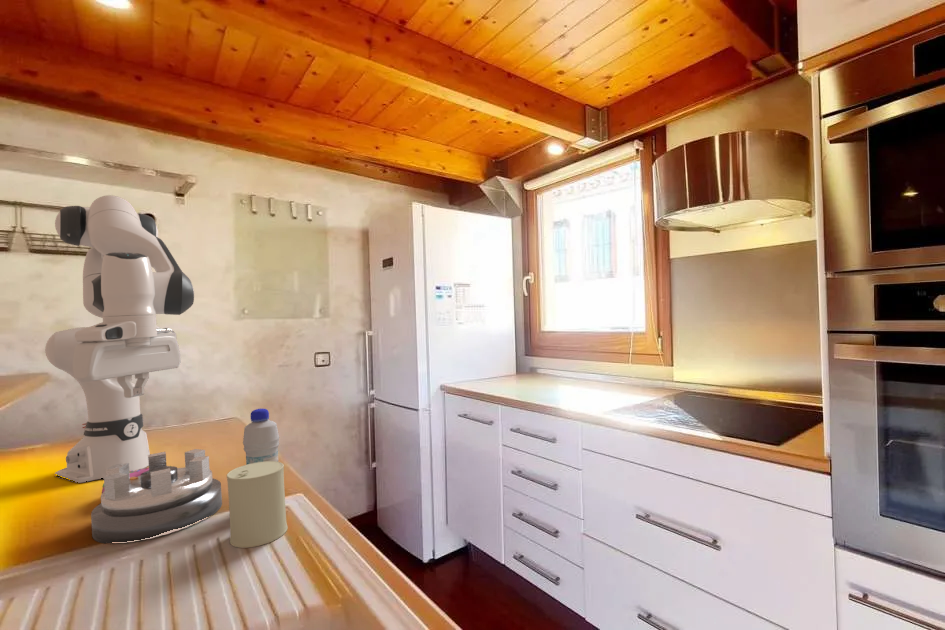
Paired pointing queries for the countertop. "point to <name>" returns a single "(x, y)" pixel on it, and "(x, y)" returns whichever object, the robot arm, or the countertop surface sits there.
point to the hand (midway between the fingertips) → (134, 396)
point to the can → (256, 504)
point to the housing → (154, 518)
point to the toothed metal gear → (155, 485)
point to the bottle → (261, 438)
